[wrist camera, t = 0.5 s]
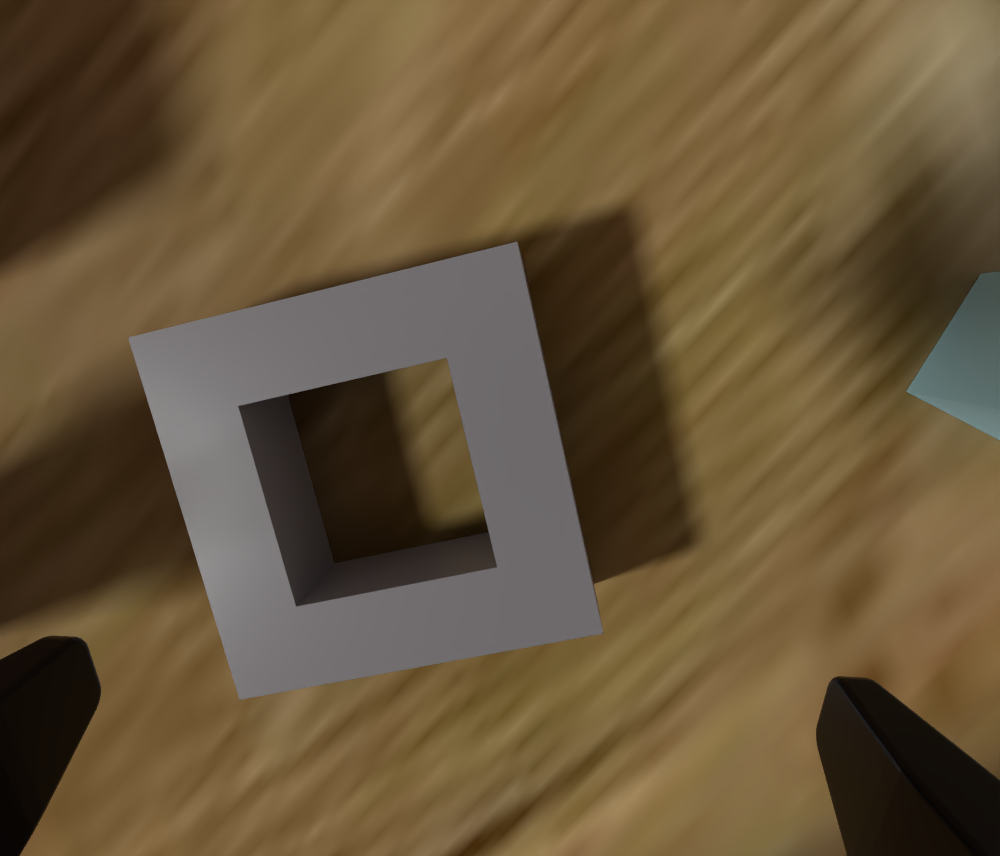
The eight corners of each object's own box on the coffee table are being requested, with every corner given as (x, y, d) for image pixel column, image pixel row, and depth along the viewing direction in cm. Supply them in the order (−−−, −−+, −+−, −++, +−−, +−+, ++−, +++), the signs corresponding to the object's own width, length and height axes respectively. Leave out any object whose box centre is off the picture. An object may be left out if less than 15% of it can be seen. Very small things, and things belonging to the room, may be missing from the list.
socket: (594, 584, 22) (603, 633, 18) (285, 643, 23) (239, 699, 19) (522, 255, 20) (517, 241, 17) (195, 335, 21) (128, 337, 18)
